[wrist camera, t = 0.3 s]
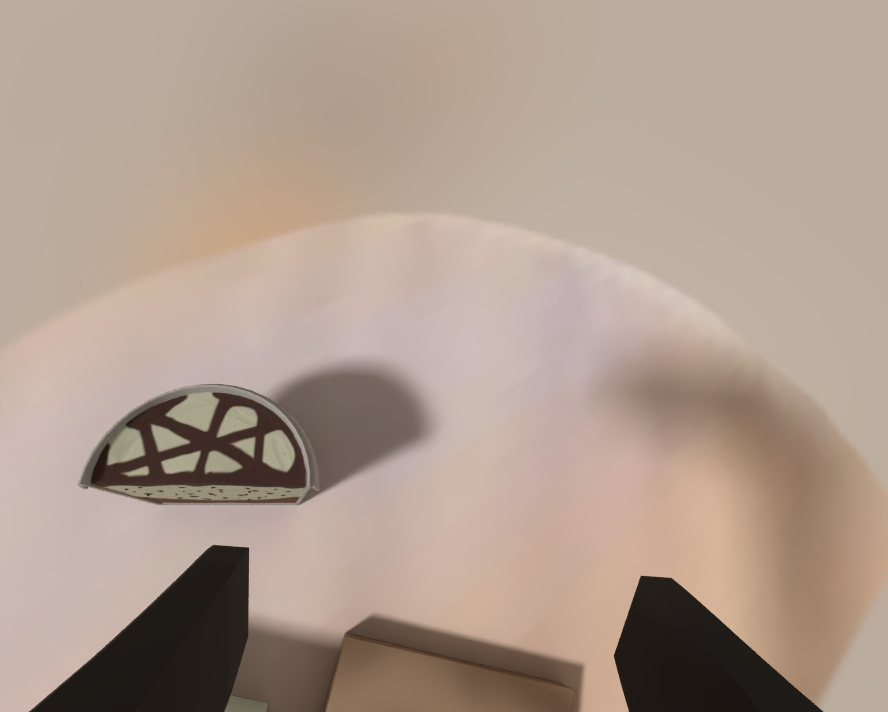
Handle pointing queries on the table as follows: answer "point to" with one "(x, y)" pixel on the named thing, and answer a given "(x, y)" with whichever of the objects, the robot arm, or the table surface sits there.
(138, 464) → the food container
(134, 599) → the table surface
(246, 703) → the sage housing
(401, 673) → the walnut stand
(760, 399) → the table surface
